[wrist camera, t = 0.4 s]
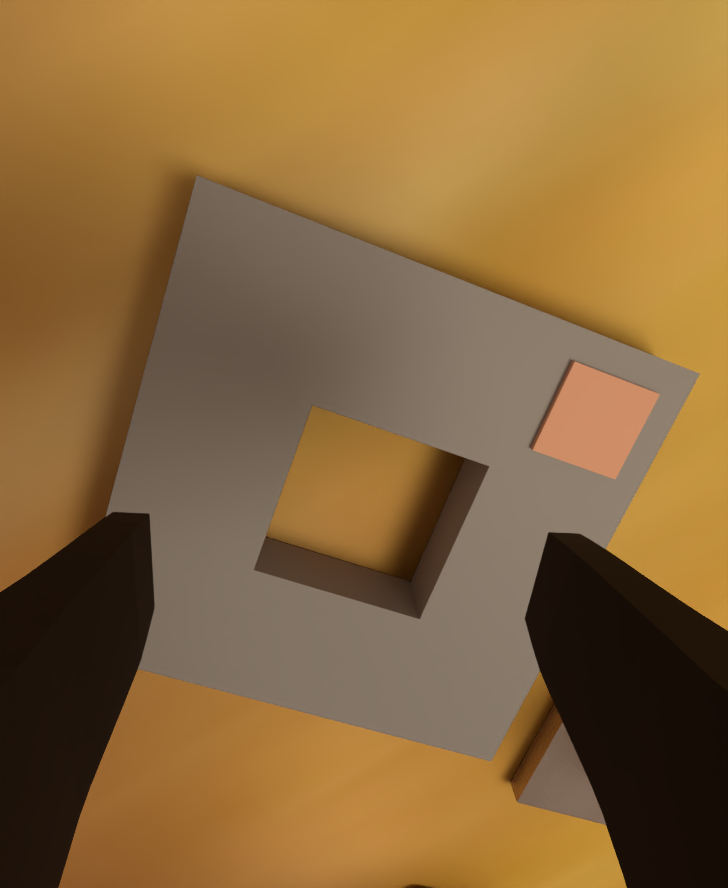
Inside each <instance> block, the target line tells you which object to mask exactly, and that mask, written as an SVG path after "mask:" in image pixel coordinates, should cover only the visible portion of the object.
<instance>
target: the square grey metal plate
mask: <svg viewBox="0 0 728 888" xmlns="http://www.w3.org/2000/svg"><path fill="white" fill-rule="evenodd" d="M510 783H511V786H512V789H513V792H514V795H515V798H516V801H517V802H518V803H522V804H526V805H530V806H534V807H538V808H542V809H546V810H550V811H554V812H558V813H562V814H566V815H570V816H574V817H577V818H581V819H585V820H589V821H593V822H597V823H601V824H605V825H606V823H605V820H604V817H603V814H602V811H601V809H600V806H599V804H598V801H597V799H596V796H595V794H594V791H593V789H592V786H591V784H590V782H589V780H588V777H587V775H586V773H585V771H584V768H583V766H582V764H581V762H580V760H579V757H578V755H577V753H576V751H575V748H574V746H573V744H572V742H571V740H570V737H569V735H568V733H567V731H566V728H565V726H564V724H563V722H562V720H561V717H560V715H559V713H558V711H557V708H556V706H555V704H554V705H553V707H552V709H551V711H550V712H549V714H548V716H547V718H546V720H545V721H544V723H543V725H542V727H541V728H540V730H539V732H538V734H537V736H536V737H535V739H534V741H533V743H532V745H531V746H530V748H529V750H528V752H527V754H526V755H525V757H524V759H523V761H522V763H521V764H520V766H519V768H518V770H517V772H516V773H515V775H514V777H513V779H512V781H511V782H510Z"/></svg>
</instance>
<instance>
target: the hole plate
mask: <svg viewBox="0 0 728 888" xmlns="http://www.w3.org/2000/svg"><path fill="white" fill-rule="evenodd" d="M699 375H700V374H699V373H696V372H694V371H691V370H689V369H686V368H684V367H681V366H679V365H676V364H674V363H671V362H669V361H666V360H664V359H661V358H659V357H656V356H653V355H651V354H648V353H646V352H643V351H641V350H638V349H636V348H633V347H631V346H628V345H626V344H623V343H621V342H618V341H615V340H613V339H610V338H608V337H605V336H603V335H600V334H598V333H595V332H593V331H590V330H588V329H585V328H583V327H580V326H577V325H575V324H572V323H570V322H567V321H565V320H562V319H560V318H557V317H555V316H552V315H550V314H547V313H545V312H542V311H539V310H537V309H534V308H532V307H529V306H527V305H524V304H522V303H519V302H517V301H514V300H512V299H509V298H507V297H504V296H501V295H499V294H496V293H494V292H491V291H489V290H486V289H484V288H481V287H479V286H476V285H474V284H471V283H469V282H466V281H463V280H461V279H458V278H456V277H453V276H451V275H448V274H446V273H443V272H441V271H438V270H436V269H433V268H431V267H428V266H425V265H423V264H420V263H418V262H415V261H413V260H410V259H408V258H405V257H403V256H400V255H398V254H395V253H393V252H390V251H387V250H385V249H382V248H380V247H377V246H375V245H372V244H370V243H367V242H365V241H362V240H360V239H357V238H355V237H352V236H349V235H347V234H344V233H342V232H339V231H337V230H334V229H332V228H329V227H327V226H324V225H322V224H319V223H317V222H314V221H312V220H309V219H306V218H304V217H301V216H299V215H296V214H294V213H291V212H289V211H286V210H284V209H281V208H279V207H276V206H274V205H271V204H268V203H266V202H263V201H261V200H258V199H256V198H253V197H251V196H248V195H246V194H243V193H241V192H238V191H236V190H233V189H230V188H228V187H225V186H223V185H220V184H218V183H215V182H213V181H210V180H208V179H205V178H203V177H200V176H198V175H197V176H196V180H195V184H194V187H193V191H192V195H191V199H190V202H189V206H188V210H187V213H186V217H185V221H184V225H183V228H182V232H181V236H180V240H179V243H178V247H177V251H176V255H175V258H174V262H173V266H172V270H171V273H170V277H169V281H168V285H167V288H166V292H165V296H164V300H163V303H162V307H161V311H160V314H159V318H158V322H157V326H156V329H155V333H154V337H153V341H152V344H151V348H150V352H149V356H148V359H147V363H146V367H145V371H144V374H143V378H142V382H141V386H140V389H139V393H138V397H137V401H136V404H135V408H134V412H133V415H132V419H131V423H130V427H129V430H128V434H127V438H126V442H125V445H124V449H123V453H122V457H121V460H120V464H119V468H118V472H117V475H116V479H115V483H114V487H113V490H112V494H111V498H110V502H109V505H108V509H107V513H106V516H108V515H109V514H111V513H112V512H127V513H149V514H150V531H151V549H152V566H153V584H154V602H155V609H154V613H153V617H152V621H151V625H150V629H149V633H148V637H147V640H146V644H145V648H144V651H143V655H142V659H141V662H140V664H139V667H138V669H140V670H144V671H148V672H152V673H155V674H159V675H163V676H167V677H171V678H175V679H178V680H182V681H186V682H190V683H194V684H197V685H201V686H205V687H209V688H213V689H217V690H220V691H224V692H228V693H232V694H236V695H239V696H243V697H247V698H251V699H255V700H259V701H262V702H266V703H270V704H274V705H278V706H281V707H285V708H289V709H293V710H297V711H301V712H304V713H308V714H312V715H316V716H320V717H323V718H327V719H331V720H335V721H339V722H343V723H346V724H350V725H354V726H358V727H362V728H365V729H369V730H373V731H377V732H381V733H385V734H388V735H392V736H396V737H400V738H404V739H407V740H411V741H415V742H419V743H423V744H426V745H430V746H434V747H438V748H442V749H446V750H449V751H453V752H457V753H461V754H465V755H468V756H472V757H476V758H480V759H484V760H488V761H492V759H493V757H494V755H495V753H496V751H497V750H498V748H499V746H500V744H501V742H502V740H503V738H504V737H505V735H506V733H507V731H508V729H509V727H510V725H511V724H512V722H513V720H514V718H515V716H516V714H517V712H518V711H519V709H520V707H521V705H522V703H523V701H524V699H525V698H526V696H527V694H528V692H529V690H530V688H531V686H532V685H533V683H534V681H535V679H536V677H537V675H538V674H539V672H540V669H539V666H538V663H537V660H536V657H535V654H534V650H533V647H532V644H531V640H530V636H529V633H528V629H527V625H526V622H525V615H526V612H527V608H528V604H529V601H530V597H531V593H532V590H533V586H534V582H535V579H536V575H537V572H538V568H539V564H540V561H541V557H542V553H543V550H544V546H545V542H546V539H547V535H548V532H556V533H578V534H581V535H583V536H585V537H587V538H588V539H590V540H592V541H593V542H595V543H597V544H598V545H600V546H601V547H603V548H604V549H606V547H607V545H608V544H609V542H610V540H611V538H612V536H613V534H614V532H615V531H616V529H617V527H618V525H619V523H620V521H621V519H622V518H623V516H624V514H625V512H626V510H627V508H628V506H629V505H630V503H631V501H632V499H633V497H634V495H635V493H636V492H637V490H638V488H639V486H640V484H641V482H642V480H643V479H644V477H645V475H646V473H647V471H648V469H649V467H650V466H651V464H652V462H653V460H654V458H655V456H656V454H657V453H658V451H659V449H660V447H661V445H662V443H663V441H664V440H665V438H666V436H667V434H668V432H669V430H670V428H671V427H672V425H673V423H674V421H675V419H676V417H677V415H678V414H679V412H680V410H681V408H682V406H683V404H684V403H685V401H686V399H687V397H688V395H689V393H690V391H691V390H692V388H693V386H694V384H695V382H696V380H697V378H698V377H699ZM312 405H313V406H316V407H319V408H322V409H325V410H328V411H331V412H334V413H336V414H339V415H342V416H345V417H348V418H351V419H354V420H357V421H360V422H363V423H365V424H368V425H371V426H374V427H377V428H380V429H383V430H386V431H389V432H392V433H394V434H397V435H400V436H403V437H406V438H409V439H412V440H415V441H418V442H420V443H423V444H426V445H429V446H432V447H435V448H438V449H441V450H444V451H447V452H449V453H452V454H455V455H458V456H461V457H464V458H465V460H464V462H463V465H462V467H461V469H460V471H459V474H458V476H457V478H456V480H455V483H454V485H453V487H452V489H451V492H450V494H449V496H448V498H447V501H446V503H445V505H444V507H443V510H442V512H441V514H440V517H439V519H438V521H437V523H436V526H435V528H434V530H433V532H432V535H431V537H430V539H429V541H428V544H427V546H426V548H425V550H424V553H423V555H422V557H421V559H420V562H419V564H418V566H417V569H416V571H415V573H414V575H413V578H412V580H411V581H407V580H404V579H401V578H397V577H394V576H391V575H388V574H384V573H381V572H378V571H375V570H371V569H368V568H365V567H362V566H358V565H355V564H352V563H348V562H345V561H342V560H339V559H335V558H332V557H329V556H326V555H322V554H319V553H316V552H312V551H309V550H306V549H303V548H299V547H296V546H293V545H290V544H286V543H283V542H280V541H277V540H273V539H270V538H267V537H266V534H267V531H268V528H269V525H270V523H271V520H272V517H273V514H274V511H275V509H276V506H277V503H278V500H279V497H280V494H281V492H282V489H283V486H284V483H285V480H286V478H287V475H288V472H289V469H290V466H291V463H292V461H293V458H294V455H295V452H296V449H297V447H298V444H299V441H300V438H301V435H302V432H303V430H304V427H305V424H306V421H307V418H308V416H309V413H310V410H311V407H312Z"/></svg>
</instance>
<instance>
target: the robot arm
mask: <svg viewBox="0 0 728 888" xmlns="http://www.w3.org/2000/svg"><path fill="white" fill-rule="evenodd" d="M154 609H155V602H154V584H153V566H152V549H151V531H150V514H149V513H127V512H112V513H111V514H109V515H108V516H106V517H105V518H103V519H102V520H101V521H99V522H98V523H97V524H95V525H94V526H93V527H91V528H90V529H89V530H87V531H86V532H85V533H83V534H82V535H81V536H79V537H78V538H77V539H75V540H74V541H73V542H71V543H70V544H69V545H67V546H66V547H65V548H63V549H62V550H60V551H59V552H58V553H56V554H55V555H54V556H52V557H51V558H49V559H48V560H47V561H45V562H44V563H42V564H41V565H40V566H38V567H37V568H36V569H34V570H33V571H31V572H30V573H29V574H27V575H26V576H24V577H23V578H21V579H20V580H18V581H17V582H15V583H14V584H12V585H11V586H9V587H8V588H6V589H5V590H3V591H2V592H0V888H58V887H59V883H60V880H61V877H62V873H63V870H64V867H65V863H66V860H67V857H68V853H69V850H70V847H71V843H72V840H73V837H74V833H75V830H76V827H77V823H78V820H79V817H80V814H81V811H82V808H83V806H84V803H85V800H86V797H87V794H88V792H89V789H90V786H91V784H92V781H93V779H94V776H95V774H96V771H97V769H98V766H99V764H100V761H101V759H102V756H103V754H104V751H105V749H106V747H107V744H108V742H109V739H110V737H111V734H112V732H113V729H114V727H115V724H116V722H117V719H118V717H119V714H120V712H121V710H122V707H123V705H124V702H125V700H126V697H127V695H128V692H129V690H130V687H131V685H132V682H133V679H134V677H135V674H136V672H137V669H138V667H139V664H140V662H141V659H142V655H143V651H144V648H145V644H146V640H147V637H148V633H149V629H150V625H151V621H152V617H153V613H154ZM525 622H526V625H527V629H528V633H529V636H530V640H531V644H532V647H533V650H534V654H535V657H536V660H537V663H538V666H539V669H540V672H541V674H542V676H543V679H544V681H545V683H546V686H547V688H548V690H549V693H550V695H551V697H552V699H553V702H554V704H555V706H556V708H557V711H558V713H559V715H560V717H561V720H562V722H563V724H564V726H565V728H566V731H567V733H568V735H569V737H570V740H571V742H572V744H573V746H574V748H575V751H576V753H577V755H578V757H579V760H580V762H581V764H582V766H583V768H584V771H585V773H586V775H587V777H588V780H589V782H590V784H591V786H592V789H593V791H594V794H595V796H596V799H597V801H598V804H599V806H600V809H601V811H602V814H603V817H604V820H605V823H606V826H607V829H608V832H609V835H610V837H611V840H612V843H613V846H614V849H615V852H616V855H617V858H618V861H619V864H620V867H621V870H622V873H623V876H624V879H625V882H626V886H627V888H728V631H727V630H725V629H724V628H722V627H721V626H719V625H717V624H716V623H714V622H713V621H711V620H709V619H708V618H706V617H705V616H703V615H701V614H700V613H698V612H697V611H695V610H694V609H692V608H691V607H689V606H688V605H686V604H685V603H683V602H682V601H680V600H679V599H677V598H676V597H674V596H673V595H671V594H670V593H668V592H667V591H665V590H664V589H663V588H661V587H660V586H658V585H657V584H655V583H654V582H652V581H651V580H649V579H648V578H647V577H645V576H644V575H642V574H641V573H639V572H638V571H636V570H635V569H634V568H632V567H631V566H629V565H628V564H626V563H625V562H623V561H622V560H621V559H619V558H618V557H616V556H615V555H613V554H612V553H610V552H609V551H607V550H606V549H604V548H603V547H601V546H600V545H598V544H597V543H595V542H593V541H592V540H590V539H588V538H587V537H585V536H583V535H581V534H578V533H556V532H548V535H547V539H546V542H545V546H544V550H543V553H542V557H541V561H540V564H539V568H538V572H537V575H536V579H535V582H534V586H533V590H532V593H531V597H530V601H529V604H528V608H527V612H526V615H525Z"/></svg>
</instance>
